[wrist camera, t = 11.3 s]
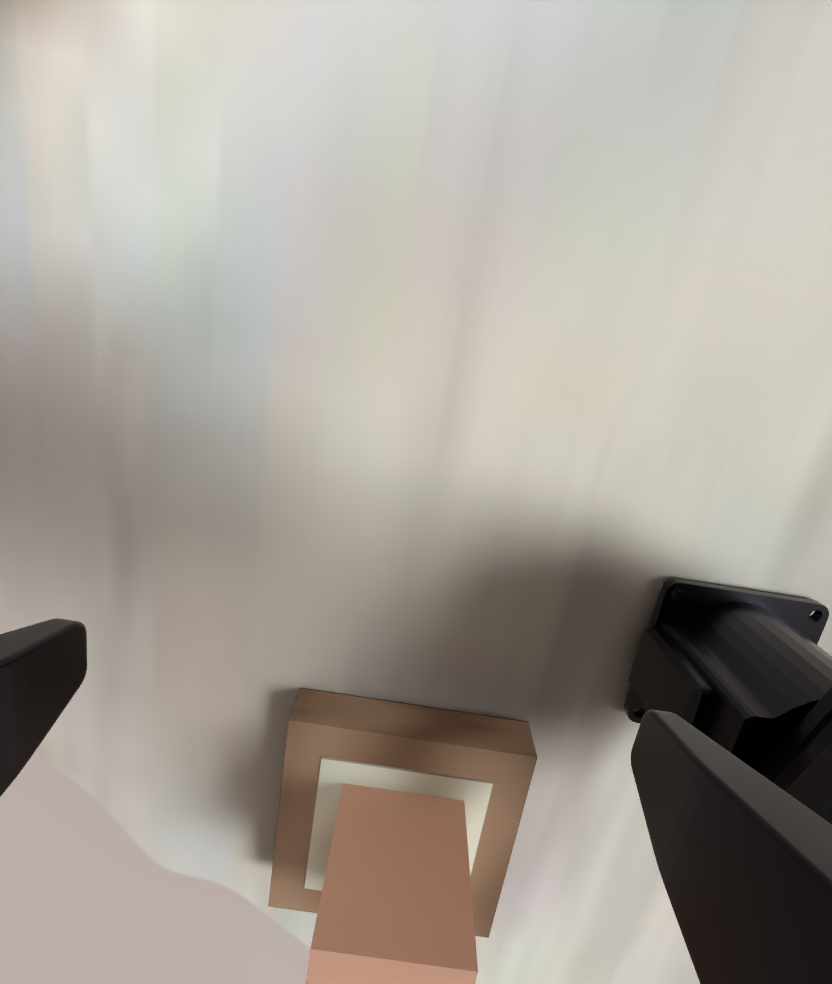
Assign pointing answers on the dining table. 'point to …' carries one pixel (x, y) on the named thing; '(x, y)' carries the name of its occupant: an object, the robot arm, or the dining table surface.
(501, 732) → the walnut plinth
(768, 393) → the dining table surface
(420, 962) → the terracotta block
